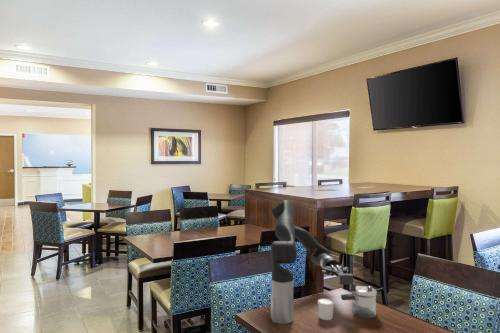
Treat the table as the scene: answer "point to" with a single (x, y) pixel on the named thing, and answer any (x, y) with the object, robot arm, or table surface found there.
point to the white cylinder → (325, 308)
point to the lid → (355, 289)
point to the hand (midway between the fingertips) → (341, 276)
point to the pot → (362, 305)
